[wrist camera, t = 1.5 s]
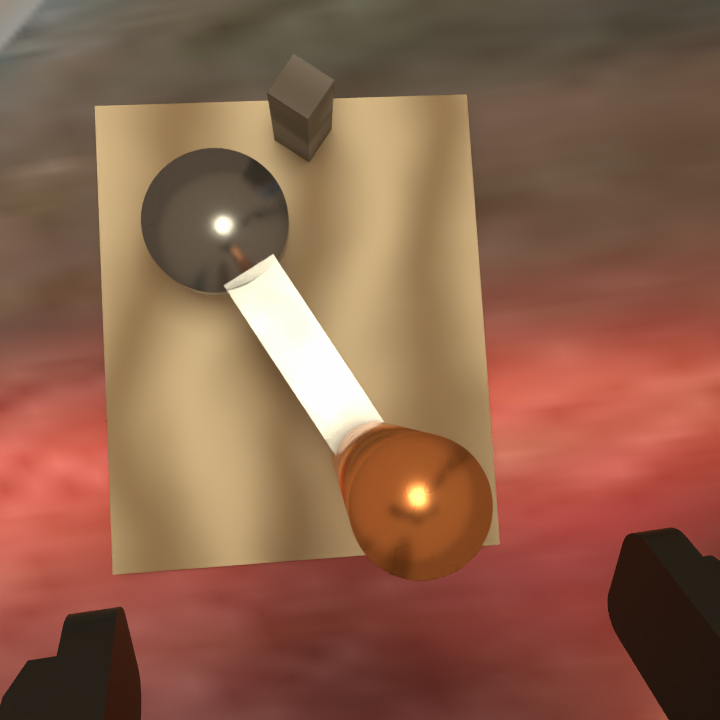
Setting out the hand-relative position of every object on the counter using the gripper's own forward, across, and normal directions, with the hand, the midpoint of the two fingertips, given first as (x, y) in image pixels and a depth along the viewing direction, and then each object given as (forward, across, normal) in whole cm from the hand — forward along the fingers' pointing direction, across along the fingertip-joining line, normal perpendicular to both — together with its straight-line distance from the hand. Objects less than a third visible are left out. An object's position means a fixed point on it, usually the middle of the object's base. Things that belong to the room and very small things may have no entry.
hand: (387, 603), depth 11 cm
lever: (+21, -1, +6) cm, 22 cm away
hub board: (+22, -1, +7) cm, 23 cm away
